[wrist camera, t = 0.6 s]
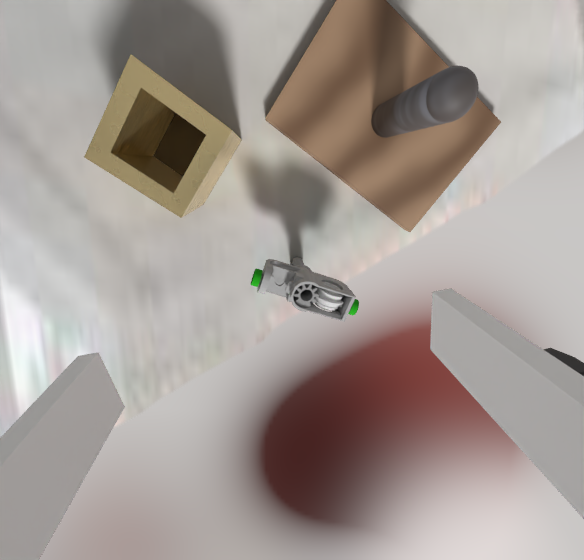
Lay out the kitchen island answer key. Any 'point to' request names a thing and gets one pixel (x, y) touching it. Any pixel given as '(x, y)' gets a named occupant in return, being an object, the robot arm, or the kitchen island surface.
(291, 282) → the mechanical component
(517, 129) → the kitchen island surface
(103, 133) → the hollow square tube
